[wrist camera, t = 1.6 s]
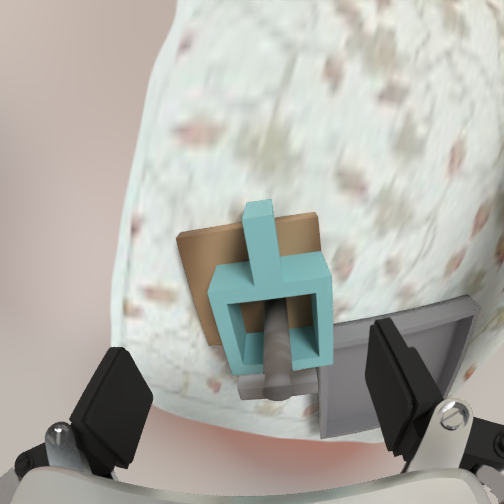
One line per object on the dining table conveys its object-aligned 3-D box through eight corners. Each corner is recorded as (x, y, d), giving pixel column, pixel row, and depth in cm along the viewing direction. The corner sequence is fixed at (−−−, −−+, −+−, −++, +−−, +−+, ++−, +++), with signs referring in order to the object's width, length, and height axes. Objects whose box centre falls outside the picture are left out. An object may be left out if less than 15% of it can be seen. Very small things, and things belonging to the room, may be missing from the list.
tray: (467, 294, 27) (480, 307, 24) (434, 395, 34) (441, 408, 31) (315, 326, 29) (319, 345, 26) (318, 423, 36) (320, 439, 34)
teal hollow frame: (315, 192, 22) (326, 207, 18) (325, 332, 27) (333, 364, 23) (203, 209, 23) (190, 227, 19) (237, 343, 28) (232, 375, 24)
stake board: (315, 212, 24) (353, 280, 13) (323, 324, 29) (345, 418, 18) (180, 232, 25) (123, 306, 14) (211, 336, 30) (188, 428, 19)
